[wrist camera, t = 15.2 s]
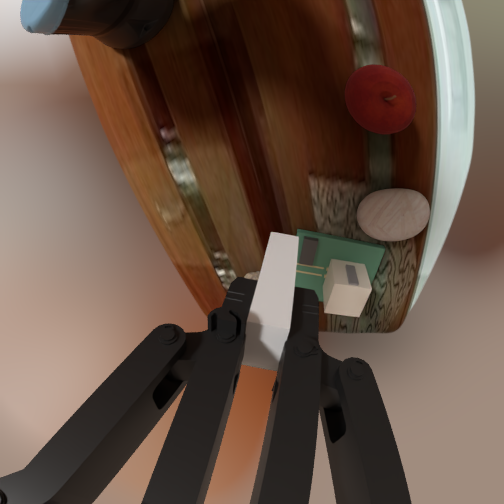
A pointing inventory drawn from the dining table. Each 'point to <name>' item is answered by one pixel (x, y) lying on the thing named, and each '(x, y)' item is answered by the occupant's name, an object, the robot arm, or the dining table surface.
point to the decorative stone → (393, 214)
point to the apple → (380, 99)
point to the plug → (346, 288)
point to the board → (331, 257)
